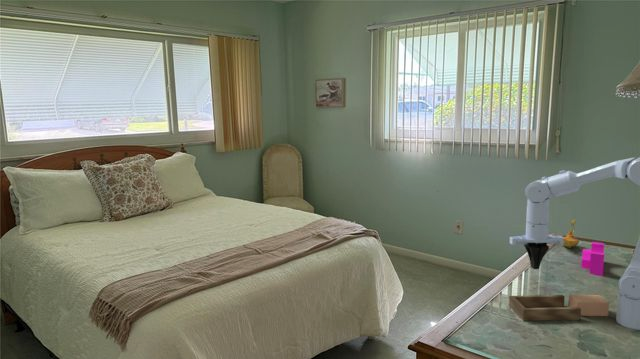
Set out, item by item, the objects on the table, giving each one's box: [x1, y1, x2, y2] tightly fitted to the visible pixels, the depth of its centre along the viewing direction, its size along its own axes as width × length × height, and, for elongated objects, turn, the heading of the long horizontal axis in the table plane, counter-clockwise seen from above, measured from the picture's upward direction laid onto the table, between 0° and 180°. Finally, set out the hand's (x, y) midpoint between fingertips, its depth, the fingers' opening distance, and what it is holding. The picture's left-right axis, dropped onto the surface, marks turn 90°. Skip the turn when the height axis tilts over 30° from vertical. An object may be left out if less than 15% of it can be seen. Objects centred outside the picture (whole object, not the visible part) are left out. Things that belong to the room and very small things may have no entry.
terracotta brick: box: [567, 294, 610, 317], centre depth 121 cm, size 8×5×4 cm, turn 85°
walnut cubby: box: [508, 294, 582, 322], centre depth 121 cm, size 15×9×3 cm, turn 90°
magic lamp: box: [562, 219, 580, 249], centre depth 173 cm, size 7×18×11 cm, turn 138°
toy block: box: [580, 241, 605, 277], centre depth 154 cm, size 15×6×8 cm, turn 148°
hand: (534, 268), depth 129 cm, fingers closed
